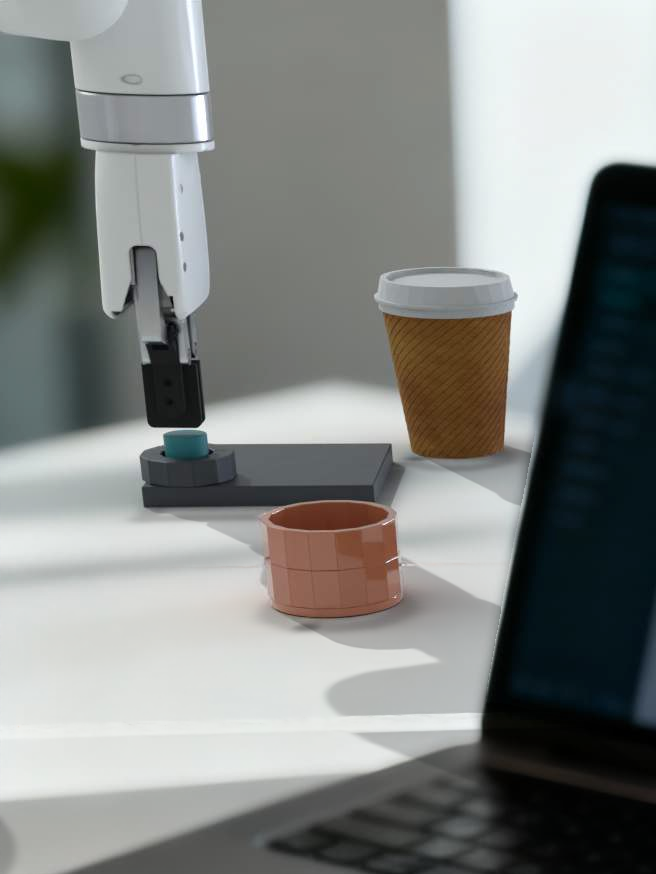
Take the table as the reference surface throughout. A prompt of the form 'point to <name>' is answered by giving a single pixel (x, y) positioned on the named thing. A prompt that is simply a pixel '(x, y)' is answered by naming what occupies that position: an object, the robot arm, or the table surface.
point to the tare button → (186, 444)
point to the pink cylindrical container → (332, 558)
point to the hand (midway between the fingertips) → (177, 424)
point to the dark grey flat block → (265, 474)
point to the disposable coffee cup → (450, 356)
